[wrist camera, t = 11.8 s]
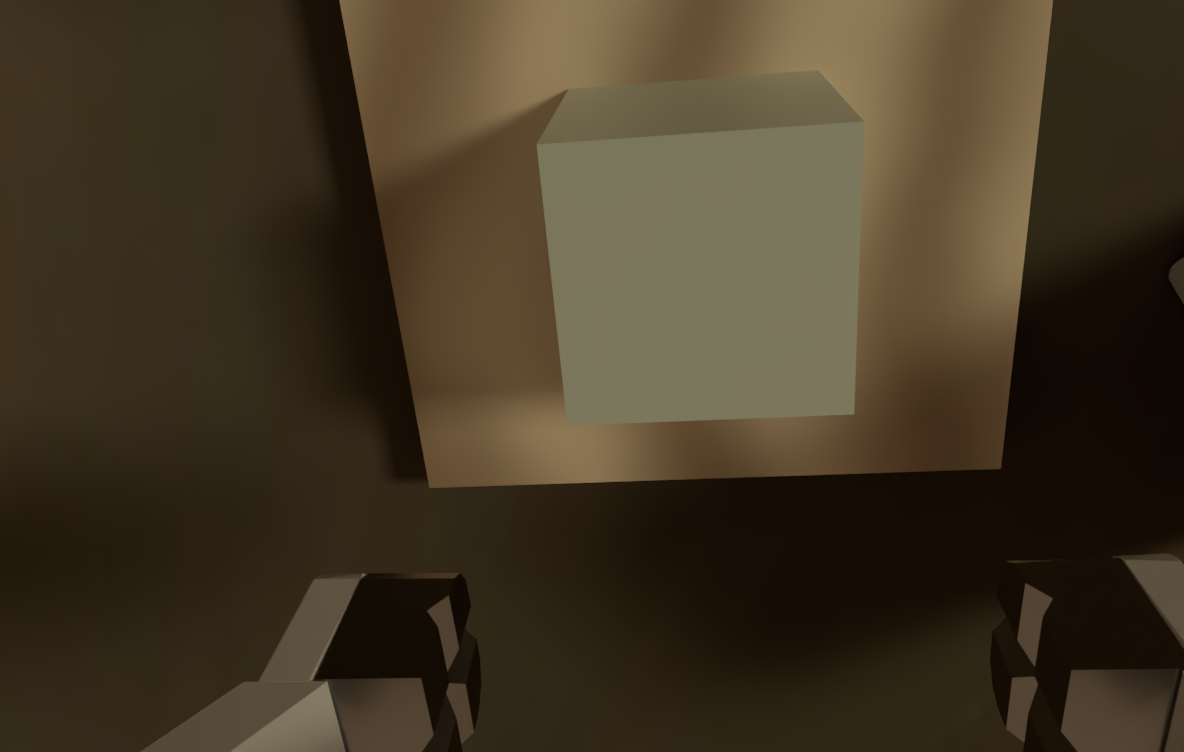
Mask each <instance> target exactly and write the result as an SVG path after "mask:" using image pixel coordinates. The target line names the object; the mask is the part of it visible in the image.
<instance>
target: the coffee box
mask: <svg viewBox="0 0 1184 752" xmlns="http://www.w3.org/2000/svg"><path fill="white" fill-rule="evenodd" d="M1169 280H1170V282H1171V284H1172V286H1173V287H1174V289H1175V291H1176V292H1177V294H1178V296H1179V297H1180V299H1181V301H1182V303H1183V304H1184V257H1183V258H1182V259H1180V260H1179V261H1177V262H1176V263H1175V264H1174V265H1173V266H1172V267H1171V269H1170V271H1169Z"/></svg>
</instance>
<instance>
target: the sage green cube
mask: <svg viewBox="0 0 1184 752" xmlns="http://www.w3.org/2000/svg"><path fill="white" fill-rule="evenodd" d="M863 146H864V120H863V119H862V118H861V117H860V116H859V115H858V114H857V113H856V112H855V110H854V109H853V108H852V107H851V106H850V105H849V104H848V103H847V102H846V100H845V99H844V98H843V97H842V96H841V95H840V94H839V93H838V92H837V90H836V89H835V88H834V87H833V86H832V85H831V84H830V83H829V82H828V80H827V79H826V78H825V77H824V76H823V75H822V74H821V73H820V72H819V70H811V71H798V72H785V73H772V74H758V75H745V76H732V77H719V78H706V79H693V80H680V81H667V82H654V83H641V84H628V85H614V86H601V87H588V88H575V89H568V91H567V93H566V94H565V96H564V98H563V100H562V101H561V103H560V105H559V107H558V108H557V110H556V112H555V113H554V115H553V117H552V119H551V120H550V122H549V124H548V126H547V127H546V129H545V131H544V133H543V134H542V136H541V138H540V139H539V141H538V143H537V153H538V162H539V171H540V180H541V189H542V198H543V207H544V216H545V226H546V235H547V244H548V253H549V262H550V271H551V280H552V289H553V298H554V308H555V317H556V326H557V335H558V344H559V353H560V362H561V371H562V380H563V390H564V399H565V408H566V417H567V426H573V425H598V424H624V423H649V422H674V421H699V420H724V419H750V418H775V417H800V416H825V415H850V414H854V406H855V377H856V348H857V319H858V290H859V261H860V232H861V203H862V175H863Z"/></svg>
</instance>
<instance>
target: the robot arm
mask: <svg viewBox="0 0 1184 752" xmlns="http://www.w3.org/2000/svg"><path fill="white" fill-rule="evenodd" d="M997 597H998V599H999V601H1000V604H1001V606H1002V608H1003V610H1004V612H1005V614H1006V618H1005V619H1004V620H1003V621H1002V622H1001V623H1000V624H999V625H998V626H997V627H996V628H995V629H994V630H993V631H992V642H991V655H990V663H991V674H992V685H993V690H994V694H995V698H996V702H997V706H998V709H999V712H1000V714H1001V717H1002V720H1003V722H1004V725H1005V727H1006V729H1007V730H1008V731H1010V732H1011V733H1012V734H1014V735H1015V736H1016V737H1018V738H1019V739H1020V740H1022V741H1023V742H1024V749H1023V752H1184V565H1183V563H1182V562H1181V561H1180V560H1179V559H1178V558H1176V557H1174V556H1172V555H1170V554H1168V553H1166V554H1146V555H1127V556H1113V557H1112V558H1097V559H1061V560H1026V561H1004V564H1003V566H1002V569H1001V571H1000V574H999V581H998V588H997ZM470 608H471V603H470V598H469V593H468V589H467V584H466V580H465V578H464V577H463V576H462V575H461V574H460V573H369V574H367V575H366V574H323V575H321V576H319V577H317V578H316V579H314V580H313V581H312V583H311V584H310V586H309V588H308V590H307V592H306V594H305V595H304V597H303V599H302V601H301V603H300V605H299V607H298V608H297V610H296V612H295V614H294V616H293V618H292V619H291V621H290V623H289V625H288V627H287V629H286V631H285V632H284V634H283V636H282V638H281V640H280V642H279V643H278V645H277V647H276V649H275V651H274V653H273V654H272V656H271V658H270V660H269V662H268V664H267V666H266V667H265V669H264V671H263V673H262V675H261V677H260V678H259V680H258V682H243V683H242V684H240V685H239V686H237V687H236V688H234V689H233V690H231V691H230V692H228V693H227V694H225V695H224V696H222V697H221V698H219V699H218V700H216V701H215V702H213V703H212V704H210V705H209V706H207V707H206V708H205V709H203V710H202V711H200V712H199V713H197V714H196V715H194V716H193V717H191V718H190V719H188V720H187V721H185V722H184V723H182V724H181V725H179V726H178V727H176V728H175V729H173V730H172V731H170V732H169V733H167V734H166V735H165V736H163V737H162V738H160V739H159V740H157V741H156V742H154V743H153V744H151V745H150V746H148V747H147V748H145V749H144V750H142V751H141V752H463V751H462V745H461V744H462V743H463V742H464V741H465V740H466V739H467V738H468V737H469V736H470V735H472V734H473V733H474V730H475V726H476V721H477V717H478V712H479V704H480V691H481V667H480V656H479V649H478V643H477V639H476V638H474V637H473V636H472V635H471V634H470V633H469V632H468V631H467V630H466V629H465V626H466V622H467V618H468V615H469V611H470Z"/></svg>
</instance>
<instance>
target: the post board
mask: <svg viewBox="0 0 1184 752" xmlns="http://www.w3.org/2000/svg"><path fill="white" fill-rule="evenodd" d="M339 1H340V7H341V12H342V18H343V23H344V28H345V34H346V39H347V45H348V50H349V55H350V61H351V66H352V72H353V77H354V82H355V88H356V93H357V99H358V104H359V110H360V115H361V120H362V126H363V131H364V137H365V142H366V147H367V153H368V158H369V164H370V169H371V174H372V180H373V185H374V191H375V196H376V201H377V207H378V212H379V218H380V223H381V229H382V234H383V239H384V245H385V250H386V256H387V261H388V266H389V272H390V277H391V283H392V288H393V293H394V299H395V304H396V310H397V315H398V320H399V326H400V331H401V337H402V342H403V347H404V353H405V358H406V364H407V369H408V375H409V380H410V385H411V391H412V396H413V402H414V407H415V412H416V418H417V423H418V429H419V434H420V439H421V445H422V450H423V456H424V461H425V466H426V472H427V477H428V483H429V488H442V487H472V486H502V485H532V484H562V483H592V482H622V481H652V480H682V479H712V478H742V477H772V476H802V475H833V474H863V473H893V472H923V471H953V470H983V469H1001V463H1002V454H1003V445H1004V436H1005V427H1006V418H1007V409H1008V400H1009V391H1010V382H1011V373H1012V364H1013V355H1014V346H1015V337H1016V328H1017V319H1018V310H1019V301H1020V292H1021V283H1022V274H1023V265H1024V257H1025V248H1026V239H1027V230H1028V221H1029V212H1030V203H1031V194H1032V185H1033V176H1034V167H1035V158H1036V149H1037V140H1038V131H1039V122H1040V113H1041V104H1042V95H1043V86H1044V77H1045V68H1046V59H1047V50H1048V41H1049V32H1050V23H1051V14H1052V5H1053V0H339ZM811 70H819V72H820V73H821V74H822V75H823V76H824V77H825V78H826V79H827V80H828V82H829V83H830V84H831V85H832V86H833V87H834V88H835V89H836V90H837V92H838V93H839V94H840V95H841V96H842V97H843V98H844V99H845V100H846V102H847V103H848V104H849V105H850V106H851V107H852V108H853V109H854V110H855V112H856V113H857V114H858V115H859V116H860V117H861V118H862V119H863V120H864V146H863V175H862V203H861V232H860V261H859V290H858V319H857V348H856V377H855V406H854V414H850V415H825V416H800V417H775V418H750V419H724V420H699V421H674V422H649V423H624V424H598V425H573V426H567V417H566V408H565V399H564V390H563V380H562V371H561V362H560V353H559V344H558V335H557V326H556V317H555V308H554V298H553V289H552V280H551V271H550V262H549V253H548V244H547V235H546V226H545V216H544V207H543V198H542V189H541V180H540V171H539V162H538V153H537V143H538V141H539V139H540V138H541V136H542V134H543V133H544V131H545V129H546V127H547V126H548V124H549V122H550V120H551V119H552V117H553V115H554V113H555V112H556V110H557V108H558V107H559V105H560V103H561V101H562V100H563V98H564V96H565V94H566V93H567V91H568V89H575V88H588V87H601V86H614V85H628V84H641V83H654V82H667V81H680V80H693V79H706V78H719V77H732V76H745V75H758V74H772V73H785V72H798V71H811Z"/></svg>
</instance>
